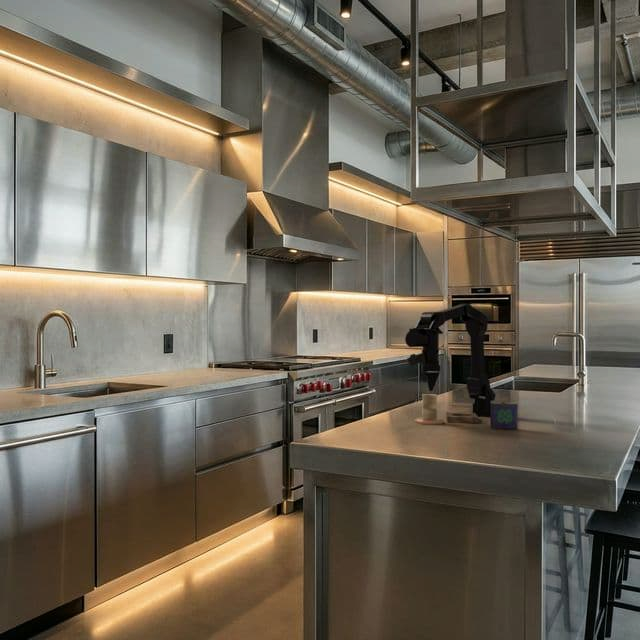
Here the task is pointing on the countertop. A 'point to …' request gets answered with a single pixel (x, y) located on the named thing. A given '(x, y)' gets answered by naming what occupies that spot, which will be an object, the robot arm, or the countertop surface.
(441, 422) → the terracotta plate
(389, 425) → the countertop surface
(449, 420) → the pocket board
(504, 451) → the countertop surface
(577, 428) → the countertop surface
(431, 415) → the maple block
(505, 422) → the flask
